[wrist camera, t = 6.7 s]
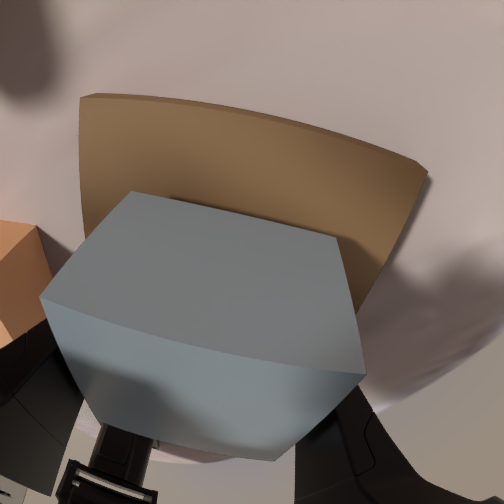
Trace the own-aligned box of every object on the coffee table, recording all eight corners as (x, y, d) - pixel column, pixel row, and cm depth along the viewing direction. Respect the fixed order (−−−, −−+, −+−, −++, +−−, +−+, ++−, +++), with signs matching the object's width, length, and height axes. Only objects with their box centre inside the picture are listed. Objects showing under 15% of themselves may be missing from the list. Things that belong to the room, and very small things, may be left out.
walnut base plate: (313, 360, 15) (314, 376, 14) (110, 315, 14) (102, 329, 14) (415, 161, 9) (428, 171, 8) (96, 93, 8) (80, 97, 7)
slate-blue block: (278, 358, 12) (274, 461, 8) (136, 325, 11) (97, 420, 8) (335, 237, 8) (366, 374, 5) (131, 190, 8) (38, 296, 4)
